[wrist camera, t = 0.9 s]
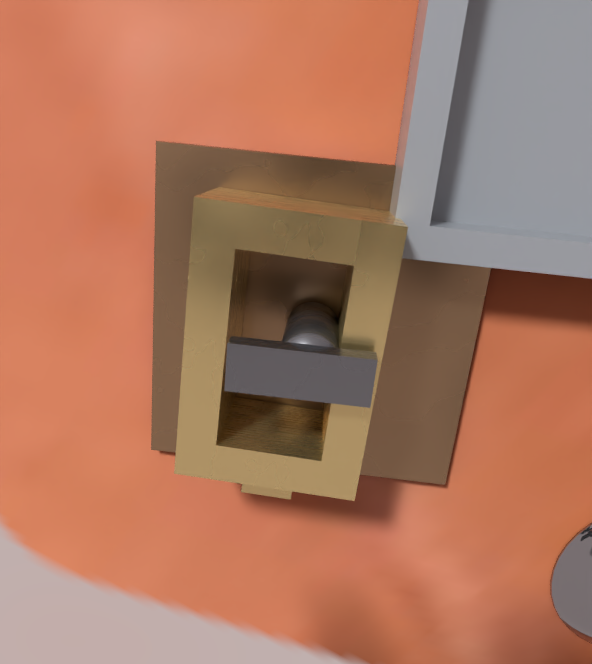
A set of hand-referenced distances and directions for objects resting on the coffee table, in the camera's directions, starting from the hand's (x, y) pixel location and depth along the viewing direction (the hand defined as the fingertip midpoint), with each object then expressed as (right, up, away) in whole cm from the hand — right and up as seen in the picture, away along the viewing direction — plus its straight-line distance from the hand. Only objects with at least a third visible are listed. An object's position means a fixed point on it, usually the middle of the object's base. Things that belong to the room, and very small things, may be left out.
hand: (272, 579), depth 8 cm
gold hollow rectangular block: (0, +4, +12) cm, 12 cm away
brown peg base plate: (+1, +4, +12) cm, 13 cm away
